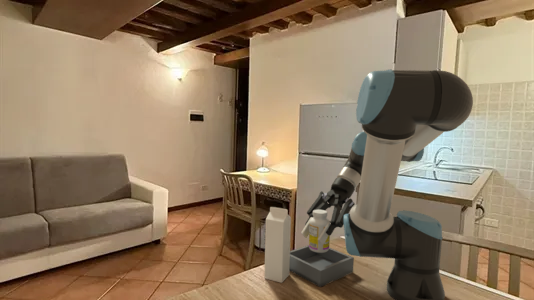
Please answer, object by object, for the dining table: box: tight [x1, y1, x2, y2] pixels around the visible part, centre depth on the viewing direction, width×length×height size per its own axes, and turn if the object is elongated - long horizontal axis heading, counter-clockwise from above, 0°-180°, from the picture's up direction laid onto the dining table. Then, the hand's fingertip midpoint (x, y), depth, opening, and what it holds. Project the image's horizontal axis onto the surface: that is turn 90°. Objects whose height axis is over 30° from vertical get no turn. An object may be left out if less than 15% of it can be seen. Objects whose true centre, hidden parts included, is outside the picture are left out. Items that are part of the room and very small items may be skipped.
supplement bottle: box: [308, 210, 331, 253], centre depth 107 cm, size 7×7×13 cm
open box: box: [289, 244, 355, 288], centre depth 107 cm, size 16×16×5 cm
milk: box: [263, 206, 292, 284], centre depth 101 cm, size 6×6×22 cm
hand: (311, 238), depth 105 cm, fingers closed on supplement bottle, 7 cm apart
